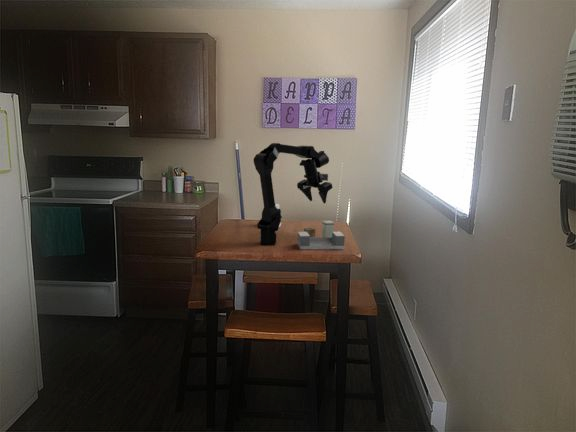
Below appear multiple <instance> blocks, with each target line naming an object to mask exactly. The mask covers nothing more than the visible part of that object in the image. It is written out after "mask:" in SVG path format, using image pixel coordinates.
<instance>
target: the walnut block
mask: <svg viewBox="0 0 576 432" xmlns="http://www.w3.org/2000/svg"><path fill="white" fill-rule="evenodd" d="M303 232H307V233H308V234H309V235H310V237H316V229H315V228H314V227H313V228H312V227H305V228H303Z"/></svg>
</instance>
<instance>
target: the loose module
mask: <svg viewBox="0 0 576 432" xmlns="http://www.w3.org/2000/svg"><path fill="white" fill-rule="evenodd" d="M321 222H322V225H321V237H332V232H335V222H334V221H332V220H322V221H321Z"/></svg>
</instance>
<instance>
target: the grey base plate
mask: <svg viewBox="0 0 576 432" xmlns="http://www.w3.org/2000/svg"><path fill="white" fill-rule="evenodd" d="M296 245H297V246H298V248H299V250H345V244H344V245H337V246H336V245H335V244H334V243H333V242H332V237H322V236H315V237H310V246H300V245H299V243H298V236H297V237H296Z"/></svg>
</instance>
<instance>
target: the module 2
mask: <svg viewBox="0 0 576 432" xmlns="http://www.w3.org/2000/svg"><path fill="white" fill-rule="evenodd" d="M345 239H346V238H345V235H344V234H343V232H341V231H334V232H332V242H333V243H334V244H335V245H336V246H337V245H344V246H345Z"/></svg>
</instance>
